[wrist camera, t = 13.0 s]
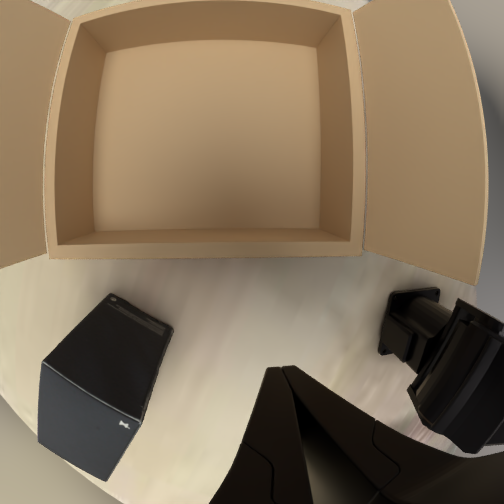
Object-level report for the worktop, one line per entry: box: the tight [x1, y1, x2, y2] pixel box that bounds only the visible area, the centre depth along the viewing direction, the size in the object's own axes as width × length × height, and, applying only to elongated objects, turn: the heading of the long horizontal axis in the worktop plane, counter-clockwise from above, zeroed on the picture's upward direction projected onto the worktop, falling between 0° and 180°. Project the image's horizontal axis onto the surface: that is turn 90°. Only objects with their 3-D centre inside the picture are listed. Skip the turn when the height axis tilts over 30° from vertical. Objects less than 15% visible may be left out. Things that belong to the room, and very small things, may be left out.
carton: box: [45, 0, 366, 259], centre depth 15 cm, size 18×16×6 cm
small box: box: [38, 293, 174, 482], centre depth 16 cm, size 11×6×10 cm, turn 148°
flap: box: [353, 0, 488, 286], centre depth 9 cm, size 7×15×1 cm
